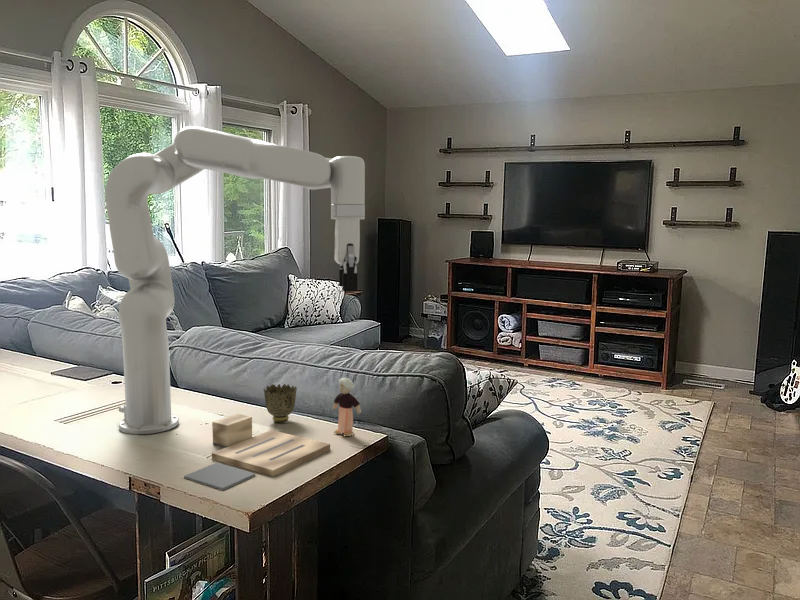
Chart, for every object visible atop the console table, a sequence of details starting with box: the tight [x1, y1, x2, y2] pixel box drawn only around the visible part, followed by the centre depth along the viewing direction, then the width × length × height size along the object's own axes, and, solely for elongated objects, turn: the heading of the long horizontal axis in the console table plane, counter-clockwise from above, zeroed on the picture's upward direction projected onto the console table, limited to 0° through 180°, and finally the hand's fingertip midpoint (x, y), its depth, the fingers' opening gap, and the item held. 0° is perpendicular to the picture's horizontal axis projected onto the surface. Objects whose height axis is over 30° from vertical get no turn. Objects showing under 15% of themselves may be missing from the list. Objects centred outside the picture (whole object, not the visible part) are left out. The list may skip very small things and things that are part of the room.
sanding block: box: [211, 413, 253, 449], centre depth 146 cm, size 4×7×5 cm, turn 148°
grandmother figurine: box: [332, 377, 362, 437], centre depth 151 cm, size 8×4×13 cm, turn 66°
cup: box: [263, 383, 297, 424], centre depth 160 cm, size 8×7×8 cm
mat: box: [183, 462, 256, 491], centre depth 128 cm, size 10×8×1 cm
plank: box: [211, 429, 331, 477], centre depth 139 cm, size 16×17×1 cm
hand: (348, 288), depth 158 cm, fingers open, 9 cm apart
